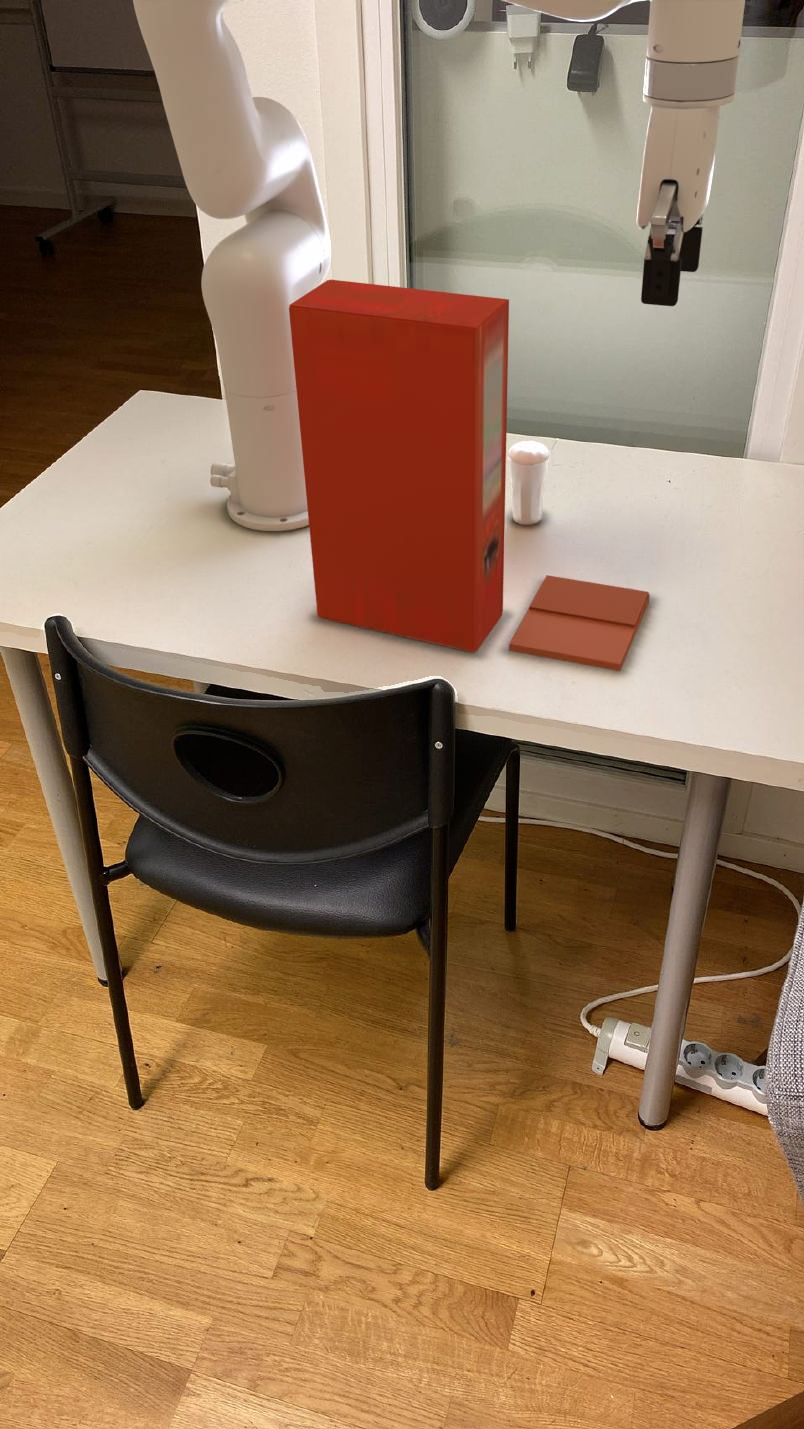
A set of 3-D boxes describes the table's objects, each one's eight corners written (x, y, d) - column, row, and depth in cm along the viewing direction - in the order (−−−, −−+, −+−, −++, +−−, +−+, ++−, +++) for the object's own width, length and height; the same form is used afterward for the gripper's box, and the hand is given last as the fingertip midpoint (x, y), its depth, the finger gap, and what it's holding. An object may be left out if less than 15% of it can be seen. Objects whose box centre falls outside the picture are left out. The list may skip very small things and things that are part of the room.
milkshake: (551, 529, 133) (555, 447, 127) (504, 526, 134) (506, 445, 128) (555, 510, 137) (559, 430, 130) (509, 507, 138) (511, 427, 131)
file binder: (353, 580, 126) (330, 277, 107) (503, 612, 120) (509, 297, 101) (317, 619, 121) (286, 306, 101) (474, 654, 114) (473, 329, 95)
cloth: (508, 650, 115) (508, 641, 114) (545, 583, 124) (545, 574, 124) (620, 671, 111) (620, 661, 111) (649, 600, 121) (650, 591, 120)
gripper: (666, 60, 106) (650, 255, 117) (621, 100, 94) (607, 314, 104) (751, 62, 104) (727, 261, 114) (716, 103, 91) (692, 322, 102)
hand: (670, 286), depth 109 cm, fingers open, 9 cm apart
